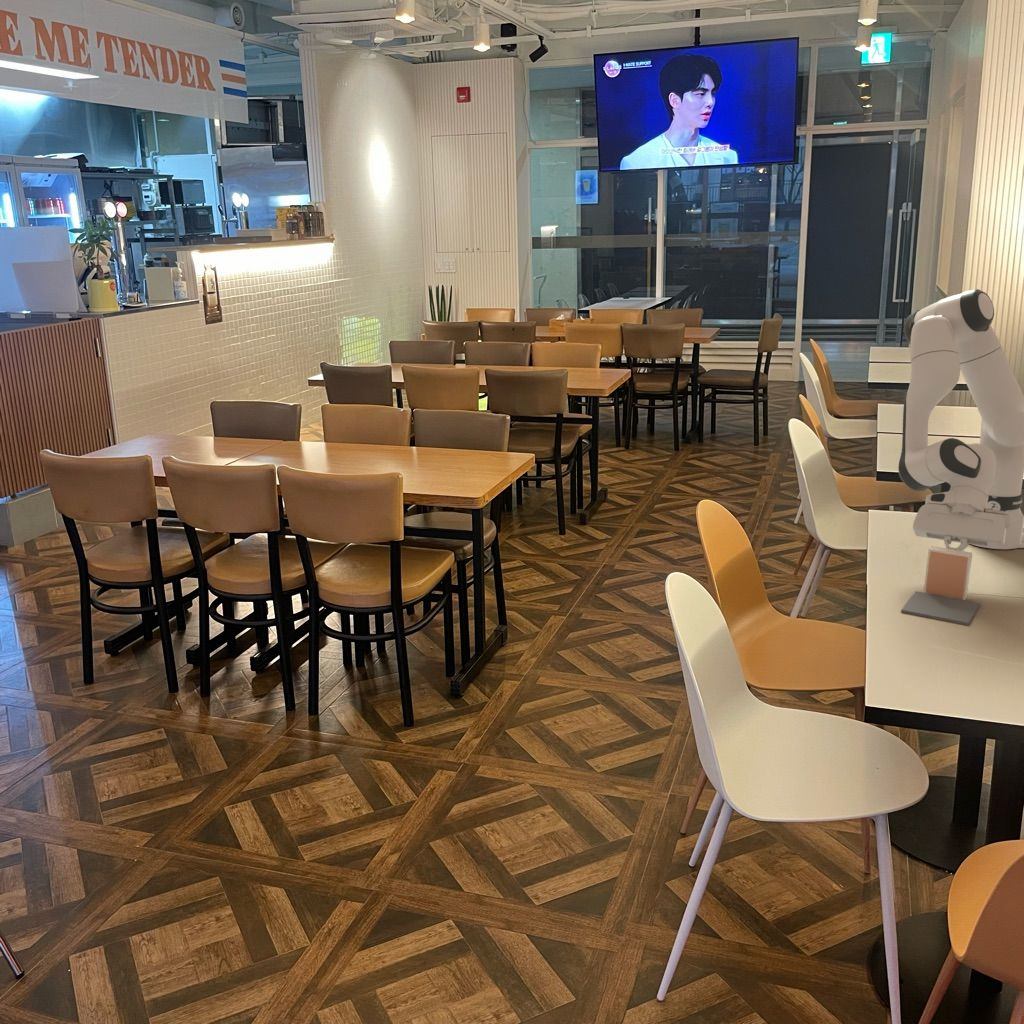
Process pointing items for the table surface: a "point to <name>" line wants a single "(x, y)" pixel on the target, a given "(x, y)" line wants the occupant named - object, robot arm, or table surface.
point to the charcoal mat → (941, 607)
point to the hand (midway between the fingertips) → (951, 556)
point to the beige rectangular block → (947, 572)
